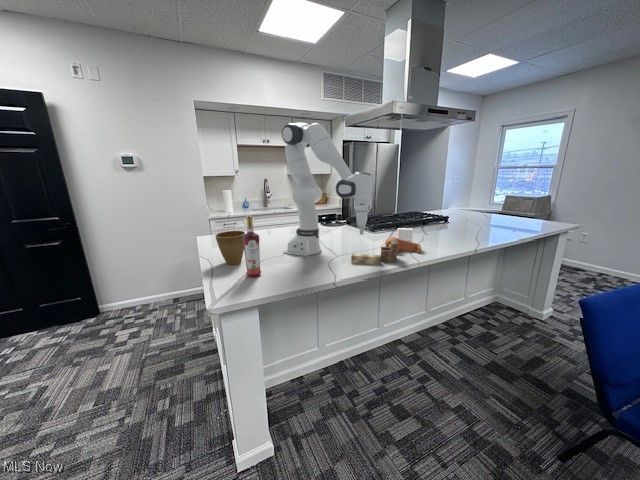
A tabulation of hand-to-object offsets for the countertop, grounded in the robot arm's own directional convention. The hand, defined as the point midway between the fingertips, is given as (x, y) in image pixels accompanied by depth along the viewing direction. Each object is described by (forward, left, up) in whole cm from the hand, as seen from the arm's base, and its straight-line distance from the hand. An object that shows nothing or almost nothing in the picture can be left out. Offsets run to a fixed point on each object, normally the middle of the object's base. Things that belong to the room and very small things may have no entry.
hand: (362, 232), depth 134 cm
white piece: (+24, +32, -17) cm, 43 cm away
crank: (+22, +24, -17) cm, 37 cm away
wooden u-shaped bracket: (+14, +7, -16) cm, 23 cm away
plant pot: (-67, -13, -17) cm, 70 cm away
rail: (+2, 0, -16) cm, 16 cm away
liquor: (-48, -27, -17) cm, 58 cm away
